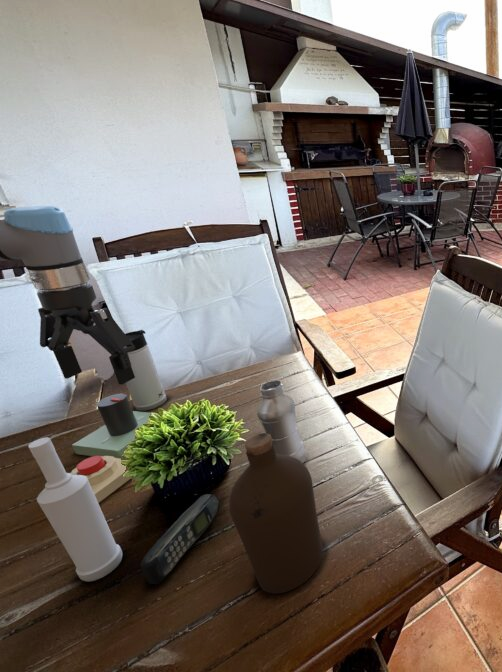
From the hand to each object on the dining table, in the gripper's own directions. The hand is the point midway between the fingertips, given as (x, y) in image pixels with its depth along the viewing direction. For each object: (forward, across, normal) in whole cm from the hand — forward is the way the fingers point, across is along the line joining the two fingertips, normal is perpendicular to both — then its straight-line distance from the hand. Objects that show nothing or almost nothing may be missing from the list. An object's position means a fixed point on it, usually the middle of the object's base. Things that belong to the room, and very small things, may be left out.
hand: (100, 378), depth 86 cm
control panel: (+16, 0, 0) cm, 16 cm away
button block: (+16, +8, -12) cm, 22 cm away
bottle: (+16, +27, -26) cm, 41 cm away
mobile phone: (+16, +37, -20) cm, 45 cm away
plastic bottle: (+16, +43, -2) cm, 46 cm away
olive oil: (+16, +57, -21) cm, 63 cm away
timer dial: (+14, 0, 0) cm, 14 cm away
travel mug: (+16, -6, +12) cm, 22 cm away
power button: (+13, +8, -12) cm, 19 cm away
